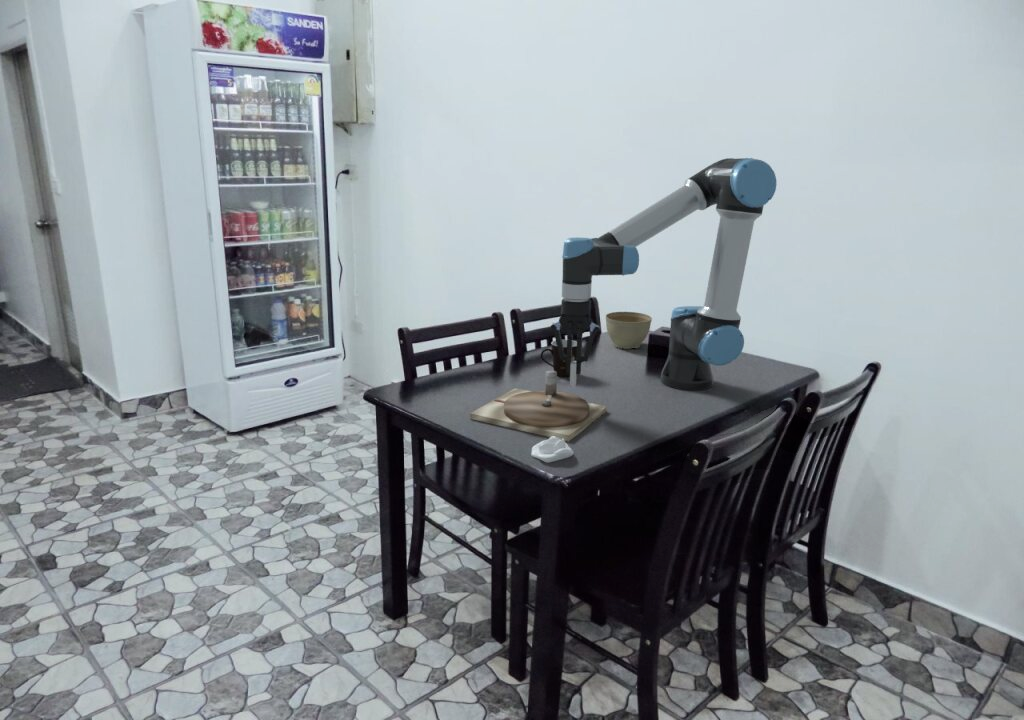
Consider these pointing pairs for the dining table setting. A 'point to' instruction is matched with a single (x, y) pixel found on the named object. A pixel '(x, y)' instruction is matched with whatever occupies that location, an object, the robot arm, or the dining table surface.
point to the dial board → (496, 416)
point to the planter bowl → (627, 328)
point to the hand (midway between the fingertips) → (573, 385)
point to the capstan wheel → (546, 406)
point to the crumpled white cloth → (551, 450)
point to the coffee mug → (557, 363)
